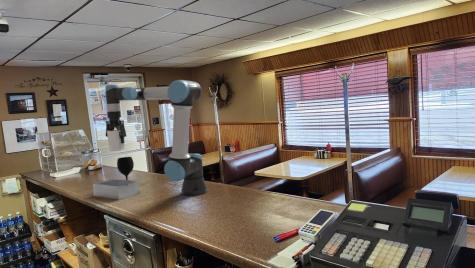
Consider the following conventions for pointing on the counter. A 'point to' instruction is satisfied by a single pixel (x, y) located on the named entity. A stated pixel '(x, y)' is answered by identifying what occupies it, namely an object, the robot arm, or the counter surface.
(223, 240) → the counter surface
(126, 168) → the wine glass
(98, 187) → the steel trough
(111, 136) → the white box
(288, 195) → the counter surface
